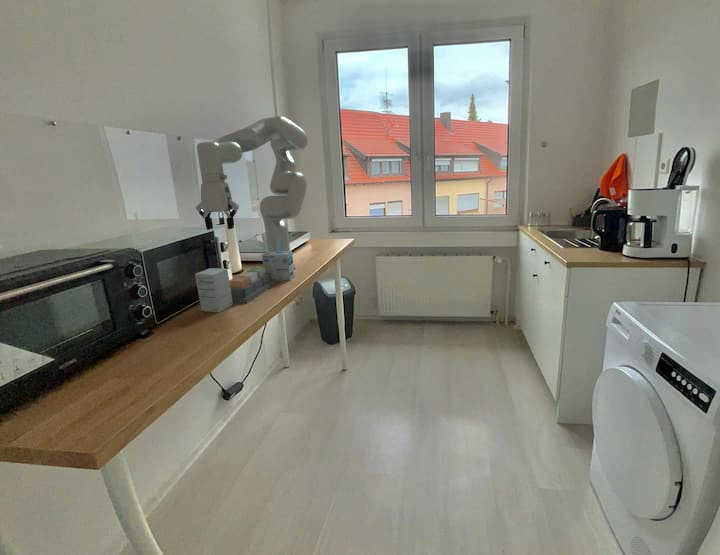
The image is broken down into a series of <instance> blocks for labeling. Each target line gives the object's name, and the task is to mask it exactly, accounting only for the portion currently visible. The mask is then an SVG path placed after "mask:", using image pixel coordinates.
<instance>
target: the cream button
mask: <svg viewBox="0 0 720 555" xmlns="http://www.w3.org/2000/svg"><path fill="white" fill-rule="evenodd" d="M237 277H248V279H249V283H252V282H254V281H256V280H257V279H258V276H257V272H247V271H244V272H243V273H241V274H239V275H237Z"/></svg>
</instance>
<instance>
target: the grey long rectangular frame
mask: <svg viewBox="0 0 720 555" xmlns="http://www.w3.org/2000/svg"><path fill="white" fill-rule="evenodd" d="M276 284H277V281H276V279H272V278H271V273H266V275H264V276H262V277H261V278H258V279H257V280H256V281H254V282H252V283H249V285H248V286H246V287H244V288H243V289H242V288H230V289H231V295H232V301H233V304H248V303H251V302H252V301H253V300H254V299H256V298H257V297H258V296H260V295H262V294H263V293H264V292H266V291H267V290H268V289H270V288H271V287H273V286H274V285H276ZM265 290H266V291H265Z"/></svg>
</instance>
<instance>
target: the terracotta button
mask: <svg viewBox="0 0 720 555" xmlns="http://www.w3.org/2000/svg"><path fill="white" fill-rule="evenodd" d="M229 282H230V288H242V289H243V288H244V287H246V286H248V285H249V279H248V277H238V276H235V277H233V278H230V279H229Z"/></svg>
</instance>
